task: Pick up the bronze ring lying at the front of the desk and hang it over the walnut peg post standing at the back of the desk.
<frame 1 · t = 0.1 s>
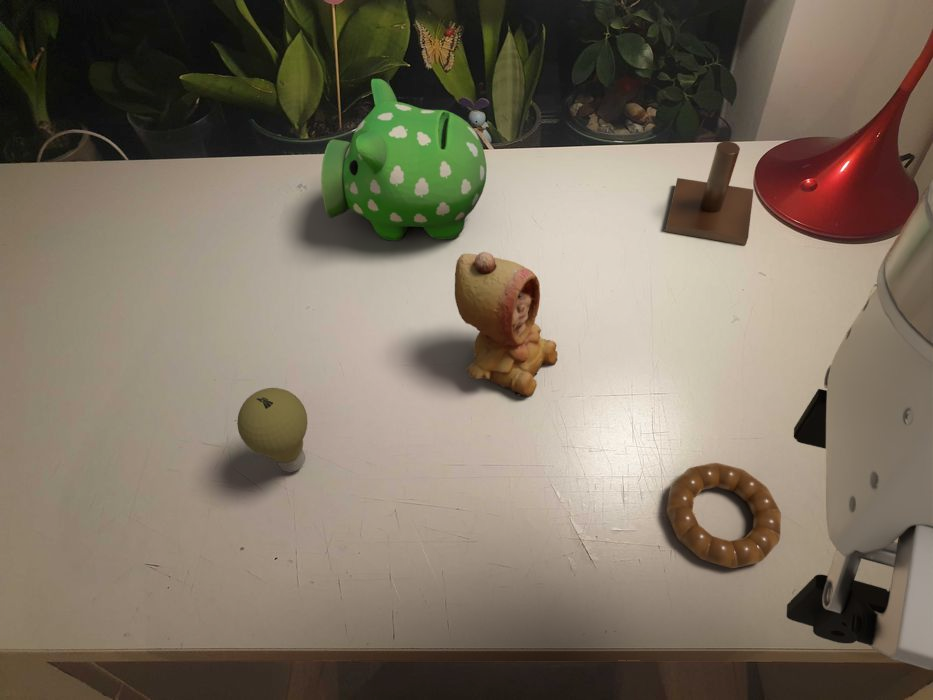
hand: (823, 525, 32), 21 cm above the table, tool pointing down, fingers open, 9 cm apart
light bulb: (295, 464, 61), on the table
figurine: (505, 361, 67), on the table
piggy bank: (415, 219, 81), on the table
post: (708, 214, 79), on the table
ring: (723, 512, 54), point 1 cm above the table
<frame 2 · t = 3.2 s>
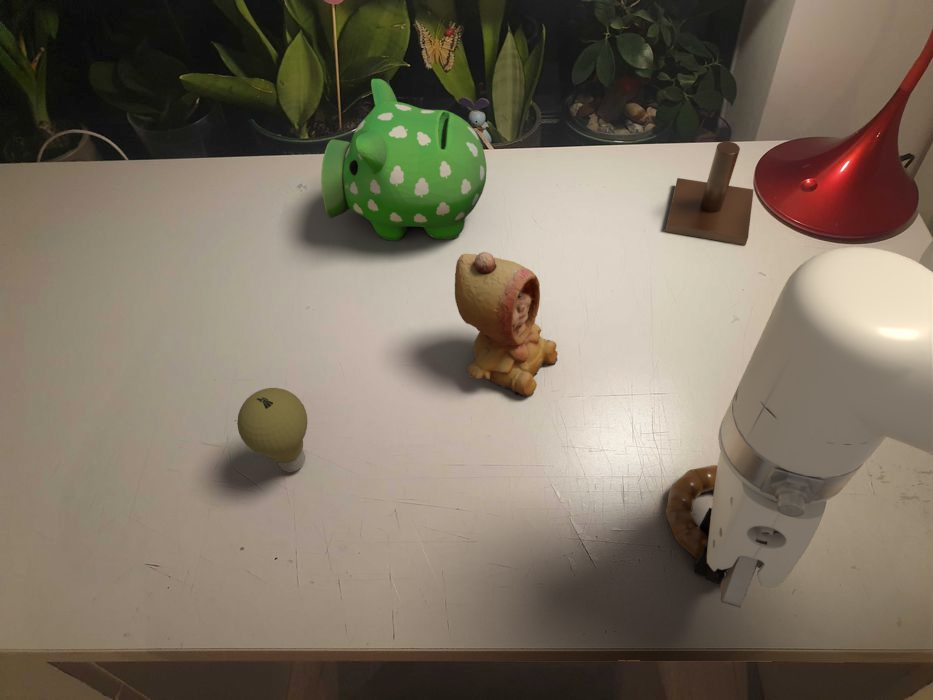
hand: (716, 555, 53), 0 cm above the table, tool pointing down, fingers closed on ring, 2 cm apart
ring: (722, 515, 54), point 1 cm above the table, touching gripper
everything else where it was.
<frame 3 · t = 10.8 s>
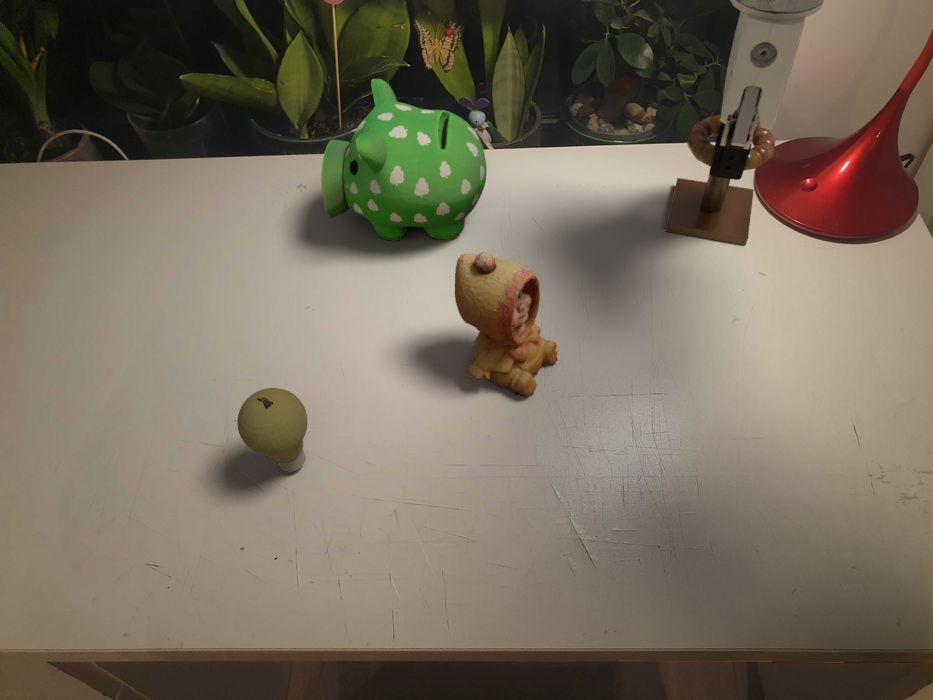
hand: (726, 165, 69), 9 cm above the table, tool pointing down, fingers closed on ring, 2 cm apart
ring: (730, 142, 71), point 10 cm above the table, touching gripper
everything else where it was.
when the fingers open (10 cm above the table, at t = 13.0 s): ring drops 8 cm, resting on post.
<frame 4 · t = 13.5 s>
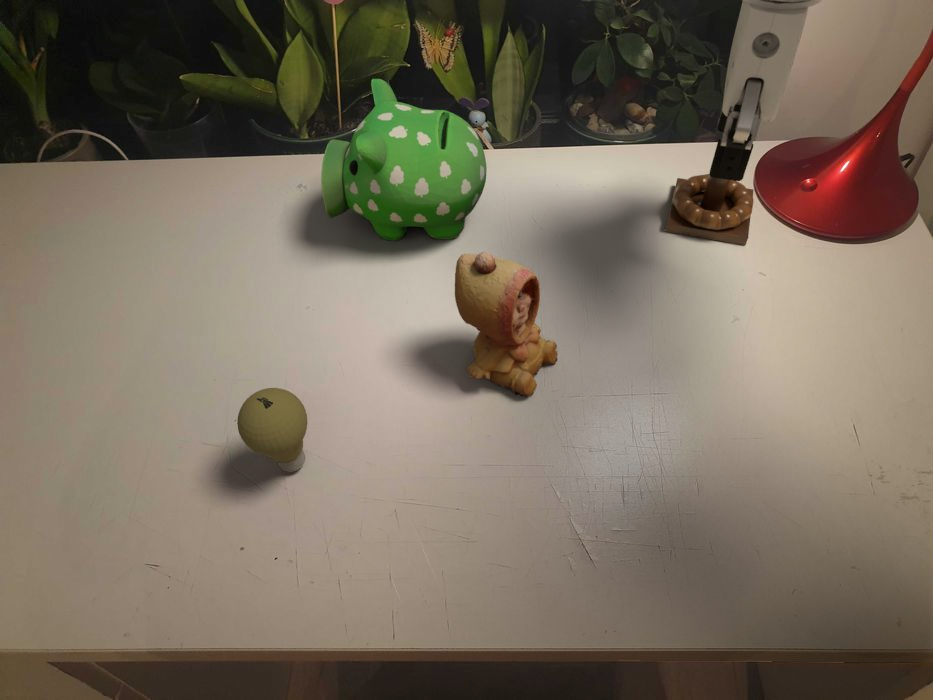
hand: (729, 153, 68), 11 cm above the table, tool pointing down, fingers open, 7 cm apart
ring: (712, 201, 77), point 2 cm above the table, touching post
everything else where it was.
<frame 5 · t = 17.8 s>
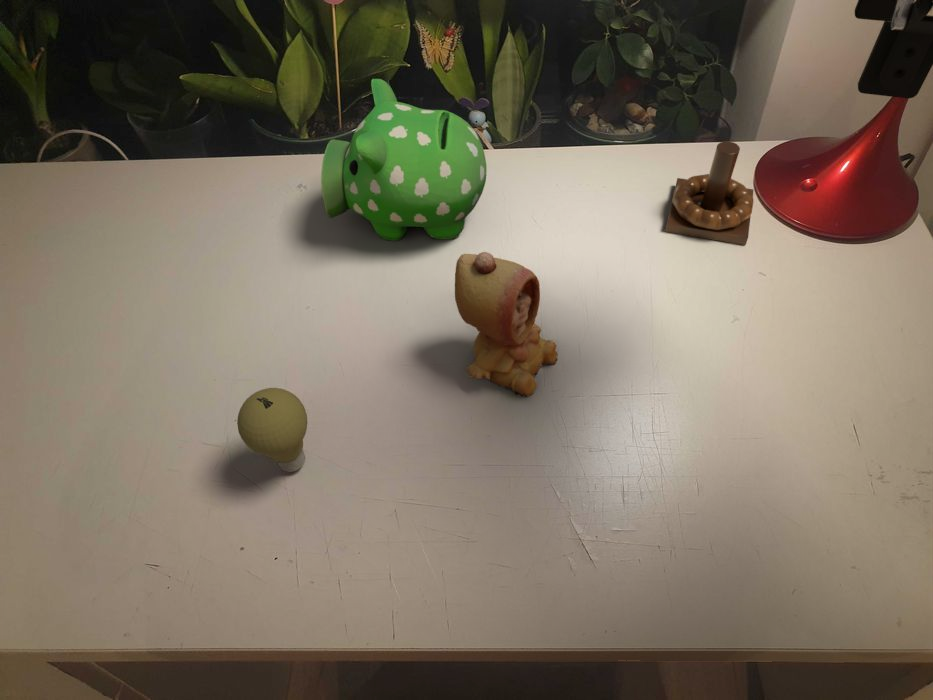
hand: (881, 53, 42), 30 cm above the table, tool pointing down, fingers open, 9 cm apart
nothing on the table moved.
at the end: ring 0.4 cm off-centre on the post, point 2.2 cm above the post's base; the gripper is holding nothing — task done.
